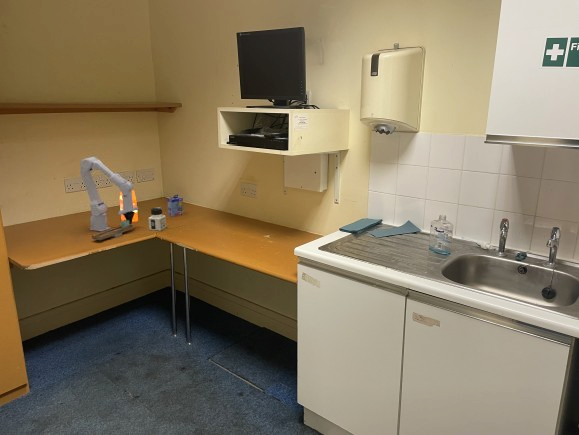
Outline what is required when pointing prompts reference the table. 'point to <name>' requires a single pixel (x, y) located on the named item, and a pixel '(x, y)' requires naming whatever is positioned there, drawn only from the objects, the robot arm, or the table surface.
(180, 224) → the table surface
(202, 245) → the table surface
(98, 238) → the beam
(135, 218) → the orange juice
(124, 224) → the block
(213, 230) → the table surface
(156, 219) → the container
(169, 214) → the ink cartridge box
